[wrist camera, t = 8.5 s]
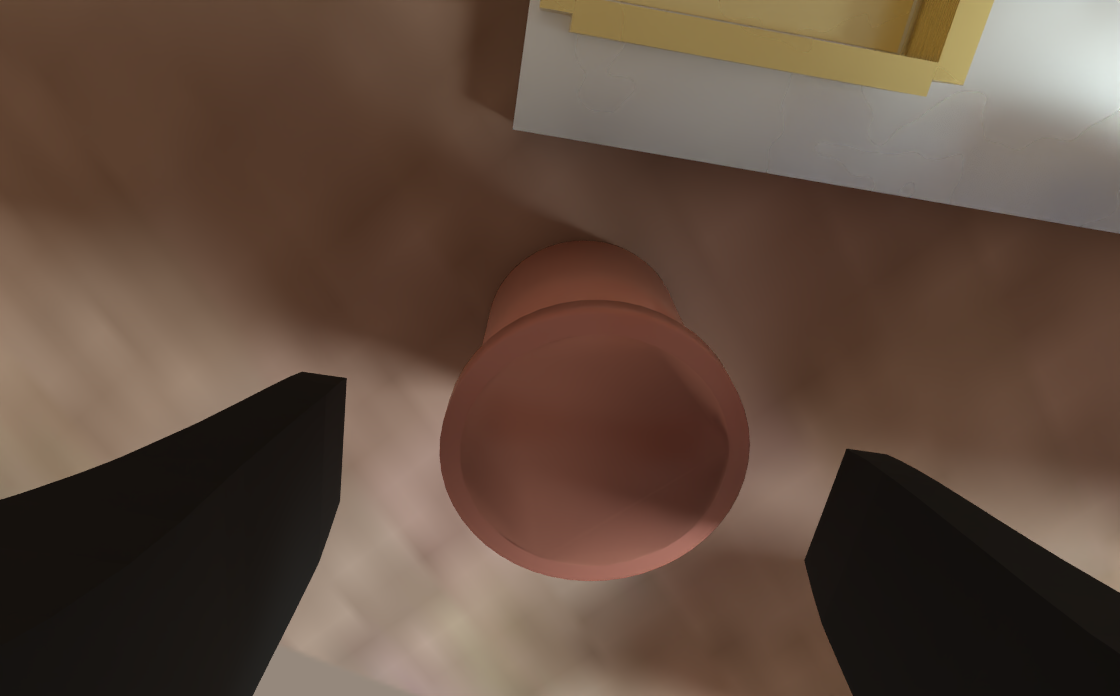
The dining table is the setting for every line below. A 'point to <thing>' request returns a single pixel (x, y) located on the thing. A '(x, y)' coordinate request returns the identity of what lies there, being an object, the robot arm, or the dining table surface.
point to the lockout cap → (591, 421)
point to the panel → (848, 93)
